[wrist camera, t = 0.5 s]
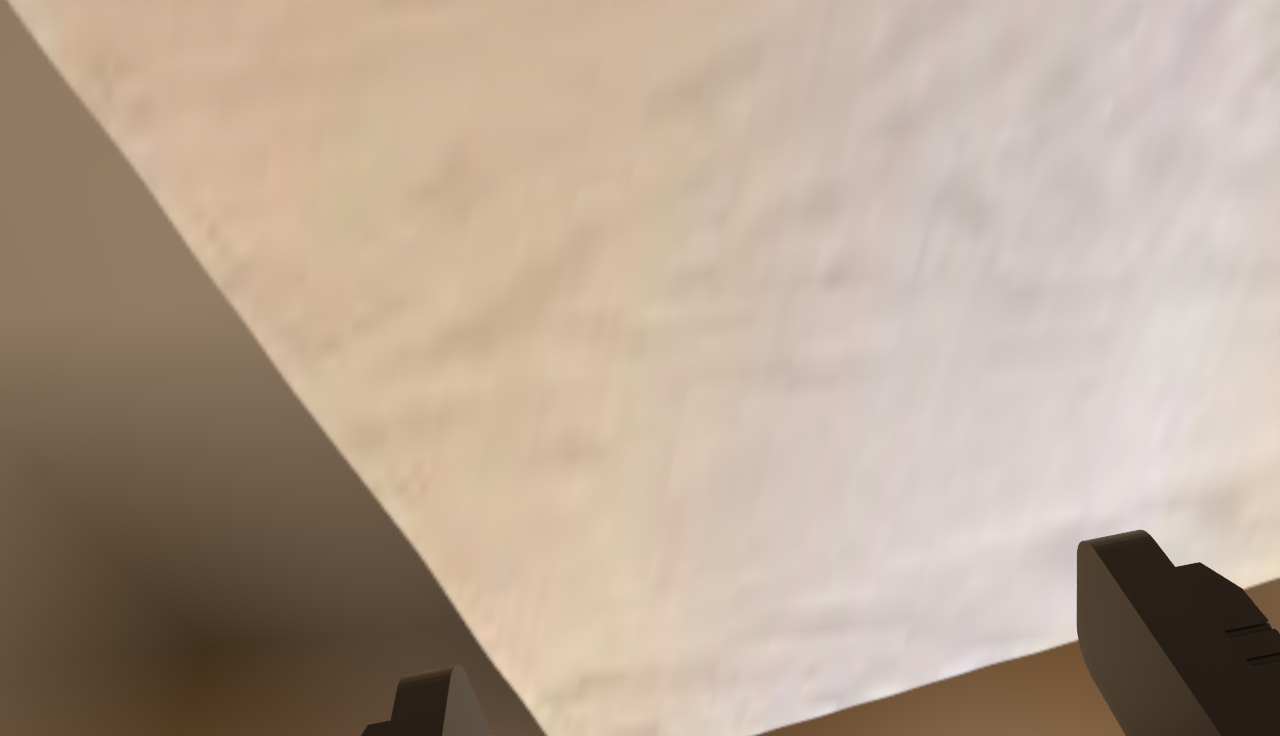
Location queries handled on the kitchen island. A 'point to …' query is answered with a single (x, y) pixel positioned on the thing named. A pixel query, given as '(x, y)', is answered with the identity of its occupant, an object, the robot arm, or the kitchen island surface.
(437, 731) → the robot arm
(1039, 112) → the kitchen island surface
